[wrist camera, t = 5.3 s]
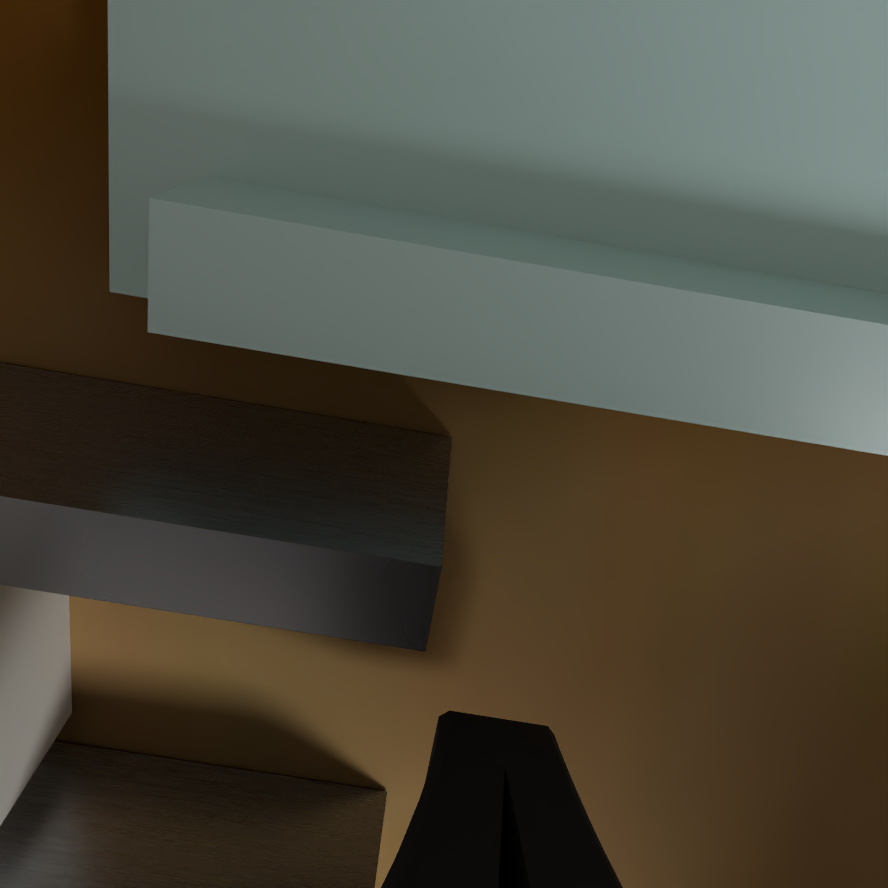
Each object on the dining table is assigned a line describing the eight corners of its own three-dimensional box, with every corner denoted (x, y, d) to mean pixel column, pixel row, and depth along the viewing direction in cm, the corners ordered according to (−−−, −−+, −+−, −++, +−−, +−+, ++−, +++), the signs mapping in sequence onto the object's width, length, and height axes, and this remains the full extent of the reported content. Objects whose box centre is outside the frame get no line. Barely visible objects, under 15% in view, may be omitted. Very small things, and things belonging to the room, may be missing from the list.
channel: (451, 436, 11) (440, 566, 8) (378, 836, 13) (352, 1030, 11) (-24, 358, 10) (-206, 462, 8) (8, 780, 13) (-113, 964, 11)
